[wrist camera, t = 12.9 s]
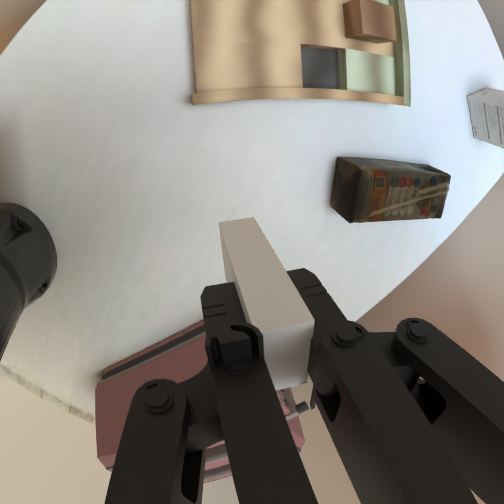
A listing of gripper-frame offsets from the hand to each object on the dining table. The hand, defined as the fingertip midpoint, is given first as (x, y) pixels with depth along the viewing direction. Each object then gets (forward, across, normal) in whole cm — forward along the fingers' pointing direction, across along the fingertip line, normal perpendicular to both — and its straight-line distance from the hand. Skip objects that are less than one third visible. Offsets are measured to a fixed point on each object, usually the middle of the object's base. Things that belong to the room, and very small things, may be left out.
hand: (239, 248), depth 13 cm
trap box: (+24, +14, +17) cm, 33 cm away
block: (+22, +21, +17) cm, 35 cm away
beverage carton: (+25, +27, -6) cm, 37 cm away
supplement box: (+25, +52, +8) cm, 58 cm away
